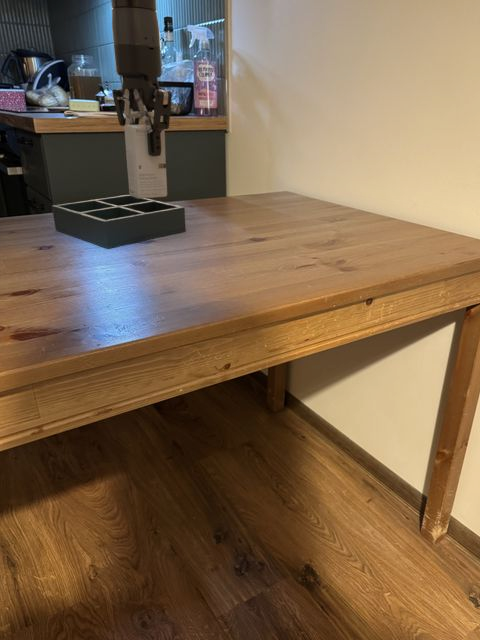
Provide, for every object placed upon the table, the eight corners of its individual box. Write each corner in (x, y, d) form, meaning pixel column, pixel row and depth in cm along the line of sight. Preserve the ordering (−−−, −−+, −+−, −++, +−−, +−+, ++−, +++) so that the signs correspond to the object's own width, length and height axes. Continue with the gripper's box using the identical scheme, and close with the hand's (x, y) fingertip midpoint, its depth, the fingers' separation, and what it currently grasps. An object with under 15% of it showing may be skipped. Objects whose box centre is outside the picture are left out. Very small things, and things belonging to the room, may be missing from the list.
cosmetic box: (138, 199, 90) (132, 126, 84) (128, 195, 93) (122, 124, 87) (169, 196, 93) (165, 125, 87) (158, 192, 96) (154, 123, 90)
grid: (55, 230, 95) (51, 205, 93) (132, 216, 106) (130, 194, 104) (107, 248, 85) (104, 221, 83) (185, 231, 96) (184, 207, 94)
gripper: (92, 43, 83) (104, 152, 91) (145, 40, 75) (153, 159, 83) (130, 47, 88) (138, 149, 96) (183, 44, 80) (187, 156, 88)
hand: (145, 153), depth 89 cm, fingers closed on cosmetic box, 4 cm apart
